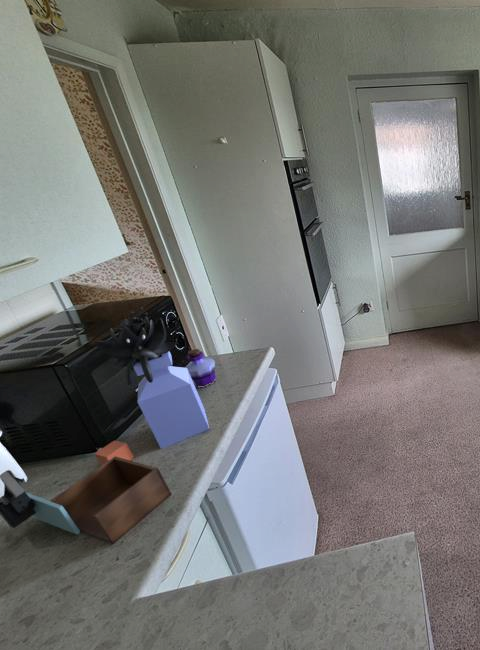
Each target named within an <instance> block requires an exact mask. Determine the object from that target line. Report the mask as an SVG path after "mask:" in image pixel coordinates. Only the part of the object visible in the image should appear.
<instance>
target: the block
mask: <svg viewBox="0 0 480 650" xmlns="http://www.w3.org/2000/svg"><path fill="white" fill-rule="evenodd" d="M93 454H94V457H95V458H96V459H97V461H98V463H99V465H100V466H102V465H103V464H104V463H106V462H107V461H109V460H110V459H112V458H113V457H115V456H116V457H119V458H123V459H126V460H130V461H133V459H134V458H135V455H134V454H133V452H132V451H131V448H130V447H129V445H128V443H126V442H123V441H120V440H119V441H118V440H113V441H111V442H109V444H107V445H105V446H104V447H102V448H101V449H99V450H98V451H96V452H94V453H93Z"/></svg>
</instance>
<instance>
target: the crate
mask: <svg viewBox="0 0 480 650" xmlns="http://www.w3.org/2000/svg"><path fill="white" fill-rule="evenodd" d="M170 496H172V492H171V489H169V486H168V484H167V482H166V481H165V479H164V477H163V475H162V473H161V470H160V469H159V468H158V467H155V466H152V465H148V464H144V463H141V462H137V461H133V460H126V459H123V458H119V457H116V456H115V457H113V458H112V459H110V460H109V461H107V462H106V463H104V464H103V465H102V466H101V465H100V466H98V467H97V468H96V469H94V470H93V471H91V472H90V473H88V474H87V475H86V476H84V477H82V478H81V479H80V480H78V481H77V482H75V483H74V484H72V485H71V486H69V487H67V488H66V489H65V490H63V491H62V492H60V493H59V494H58V495H56V496H55V497H53V498H51V499H50V502H53V503H56V504H58V505H61V506H63V508H64V509H65V511H66V512H67V513H68V515H69V516H70V518H71V519H72V521H73V522H74V523H75V525H76V526H77V528H78V529H79V531H80V532H82V533H84V534H87V535H90V536H92V537H94V538H97V539H100V540H103V541H105V542H108V543H109V544H113V545H114V544H116V543H117V542H118V541H119V540H120V539H122V538H123V537H124V536H125V535H126V534H127V533H129V532H130V531H131V530H132V529H133V528H135V526H136V525H137V524H140V522H142V520H144V519H145V518H146V517H147V516H148V515H150V513H152V512H153V511H154V510H155V509H157V507H159V506H160V505H161V504H162V503H163V502H164V501H166V500H167V499H168V498H169V497H170Z"/></svg>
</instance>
